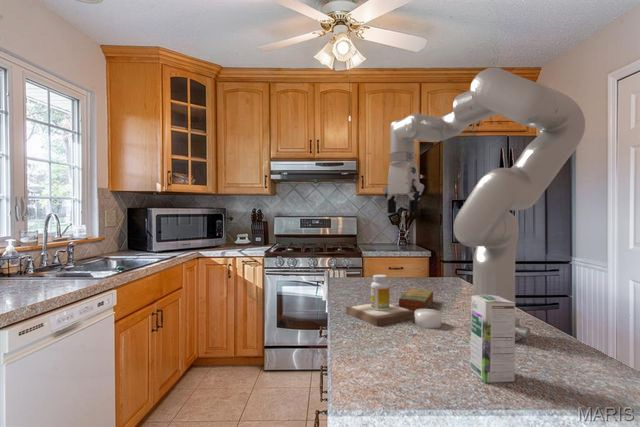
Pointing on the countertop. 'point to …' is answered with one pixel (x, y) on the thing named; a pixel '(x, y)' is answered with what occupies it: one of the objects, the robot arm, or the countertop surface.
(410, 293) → the carton
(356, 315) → the tray
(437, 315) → the white glossy dome
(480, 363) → the syrup box
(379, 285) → the supplement bottle
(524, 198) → the robot arm
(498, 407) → the countertop surface
